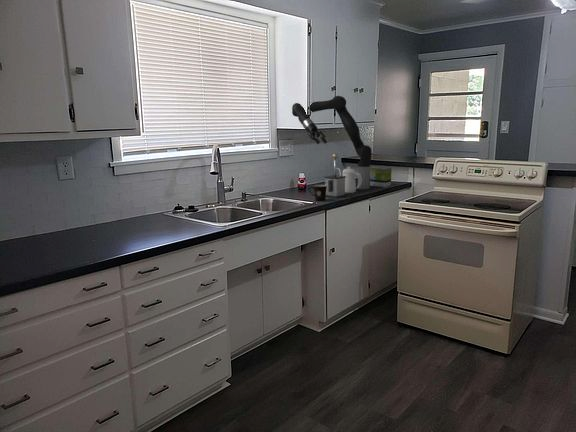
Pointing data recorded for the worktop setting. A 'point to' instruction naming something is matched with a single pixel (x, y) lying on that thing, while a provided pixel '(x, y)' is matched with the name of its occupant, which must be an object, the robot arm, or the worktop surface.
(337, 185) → the utensil holder
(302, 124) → the robot arm
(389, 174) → the tea box
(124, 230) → the worktop surface
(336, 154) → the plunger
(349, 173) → the coffeepot
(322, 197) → the coffee mug
